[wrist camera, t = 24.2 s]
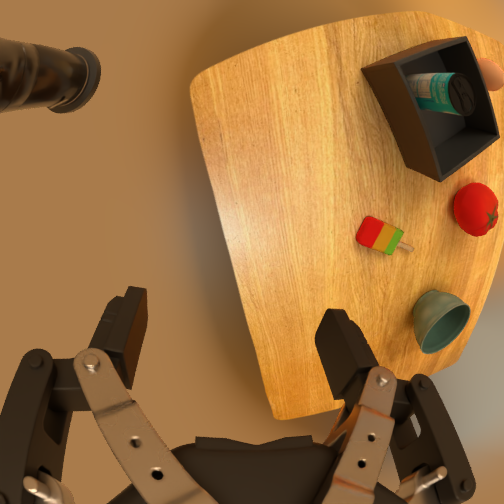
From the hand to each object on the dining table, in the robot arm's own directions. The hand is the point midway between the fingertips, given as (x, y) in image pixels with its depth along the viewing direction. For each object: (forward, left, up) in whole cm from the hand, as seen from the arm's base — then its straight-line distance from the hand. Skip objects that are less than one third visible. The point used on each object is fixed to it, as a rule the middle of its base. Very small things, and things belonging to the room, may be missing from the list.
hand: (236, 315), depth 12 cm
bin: (+7, +37, -33) cm, 50 cm away
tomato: (+32, +40, -33) cm, 61 cm away
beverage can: (+4, +32, -32) cm, 46 cm away
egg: (+7, +57, -33) cm, 66 cm away
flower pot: (+55, +23, -33) cm, 68 cm away
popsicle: (+28, +18, -33) cm, 47 cm away
